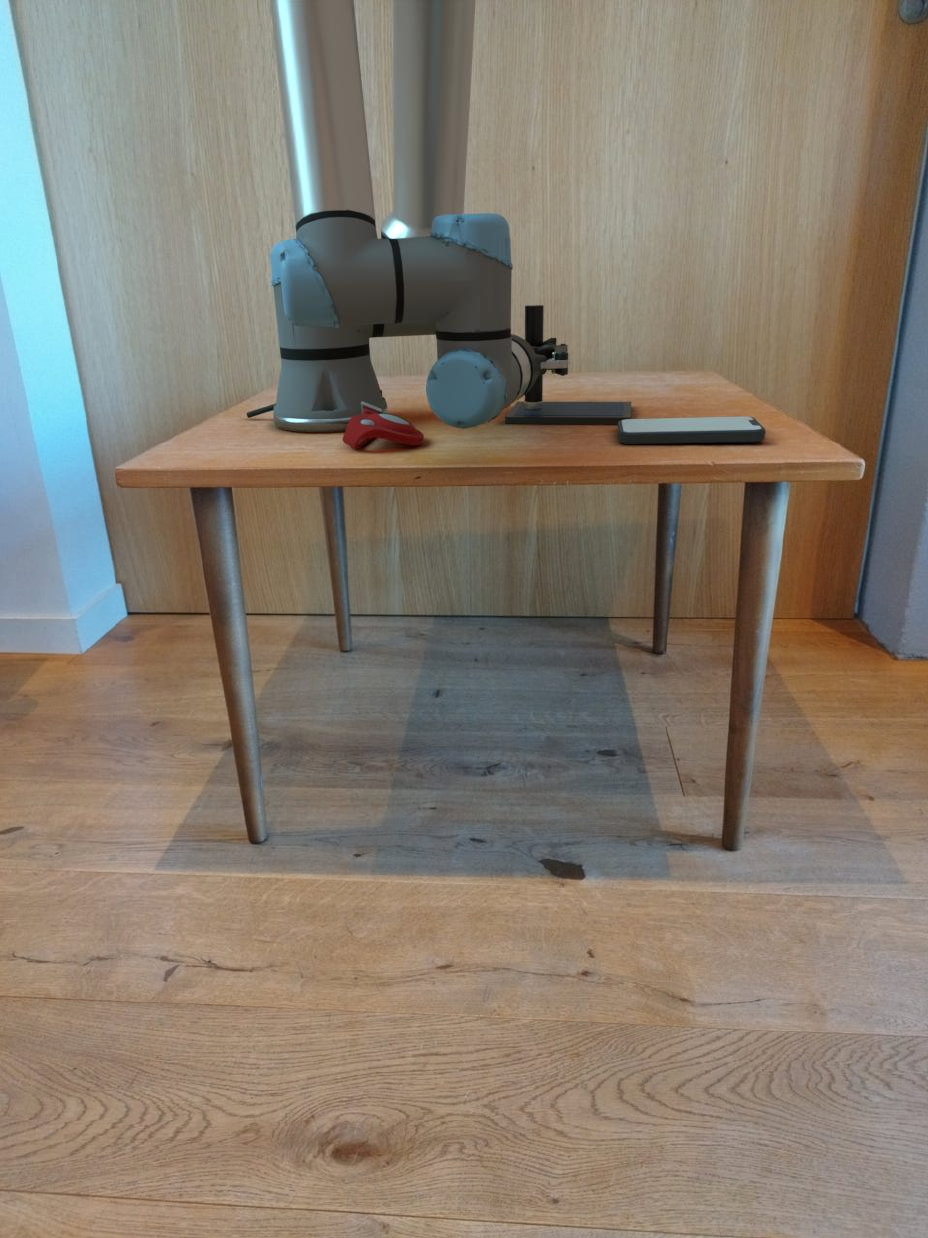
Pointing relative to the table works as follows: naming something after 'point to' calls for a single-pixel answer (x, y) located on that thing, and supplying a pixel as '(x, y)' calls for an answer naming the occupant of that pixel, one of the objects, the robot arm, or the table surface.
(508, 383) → the robot arm
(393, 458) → the table surface
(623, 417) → the tablet
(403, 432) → the red curved piece
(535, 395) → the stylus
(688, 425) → the phone case
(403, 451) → the table surface
